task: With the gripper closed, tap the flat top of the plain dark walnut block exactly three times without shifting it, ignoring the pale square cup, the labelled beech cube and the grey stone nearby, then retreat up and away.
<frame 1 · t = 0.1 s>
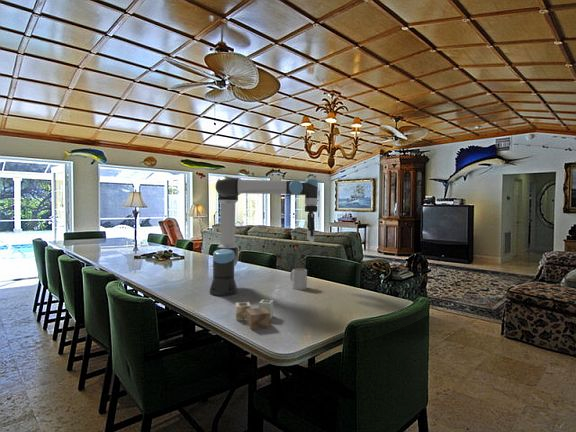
hand: (310, 241, 204), 28 cm above the table, fingers open, 13 cm apart
mug: (297, 287, 205), on the table
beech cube: (242, 318, 148), on the table
pale square cup: (265, 317, 150), on the table
walnut block: (257, 325, 140), on the table
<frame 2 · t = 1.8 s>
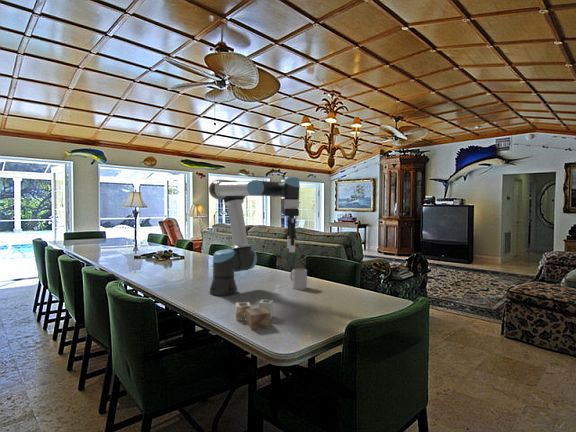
hand: (290, 250, 173), 26 cm above the table, fingers open, 13 cm apart
nothing on the table moved.
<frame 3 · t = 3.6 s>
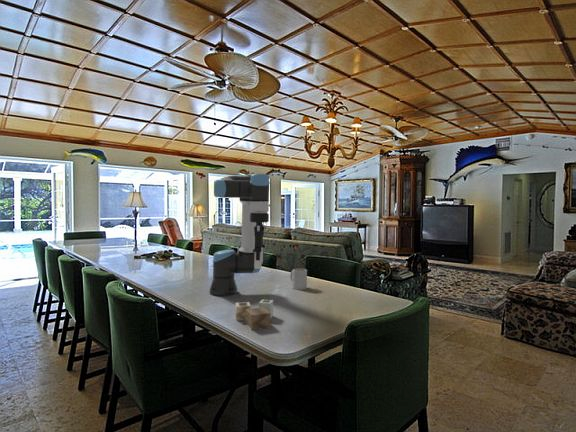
hand: (258, 265, 139), 24 cm above the table, fingers open, 12 cm apart
nothing on the table moved.
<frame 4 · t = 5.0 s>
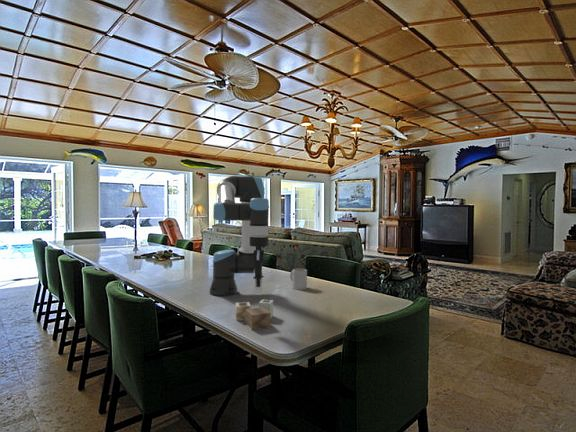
hand: (258, 294, 139), 13 cm above the table, fingers closed
nothing on the table moved.
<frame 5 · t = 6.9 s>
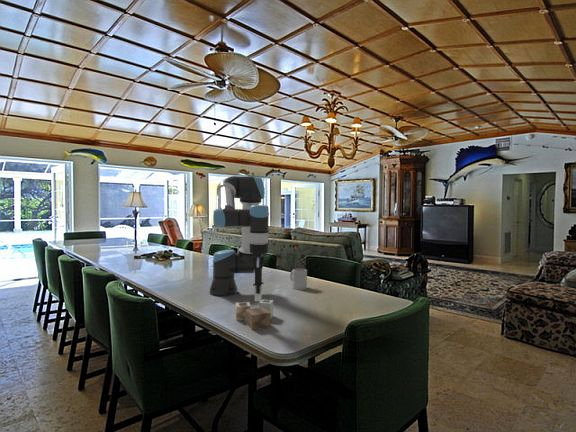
hand: (258, 300, 139), 10 cm above the table, fingers closed
nothing on the table moved.
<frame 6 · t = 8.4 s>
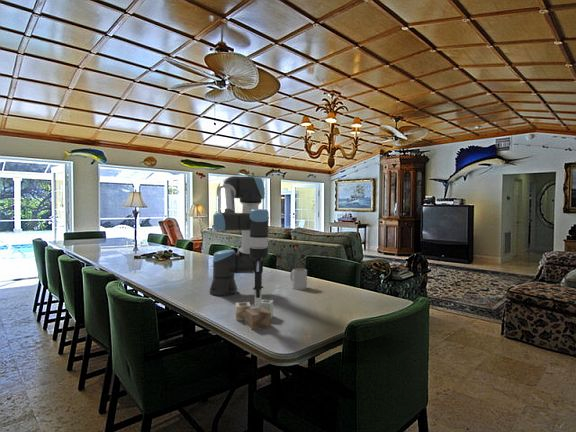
hand: (257, 304, 140), 8 cm above the table, fingers closed
nothing on the table moved.
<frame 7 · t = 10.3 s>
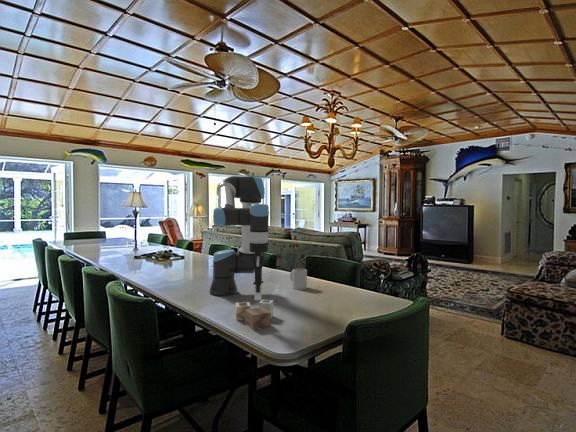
hand: (258, 299, 140), 10 cm above the table, fingers closed
nothing on the table moved.
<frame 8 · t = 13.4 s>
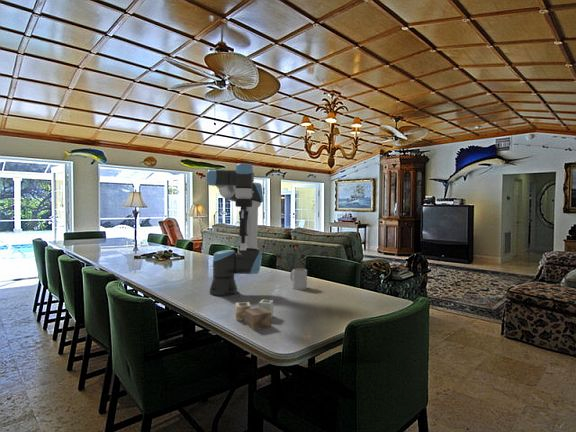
hand: (243, 250, 155), 28 cm above the table, fingers closed
nothing on the table moved.
at the end: walnut block moved 0.2 cm from its start; walnut block tilted 0°; pale square cup moved 0.1 cm from its start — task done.
